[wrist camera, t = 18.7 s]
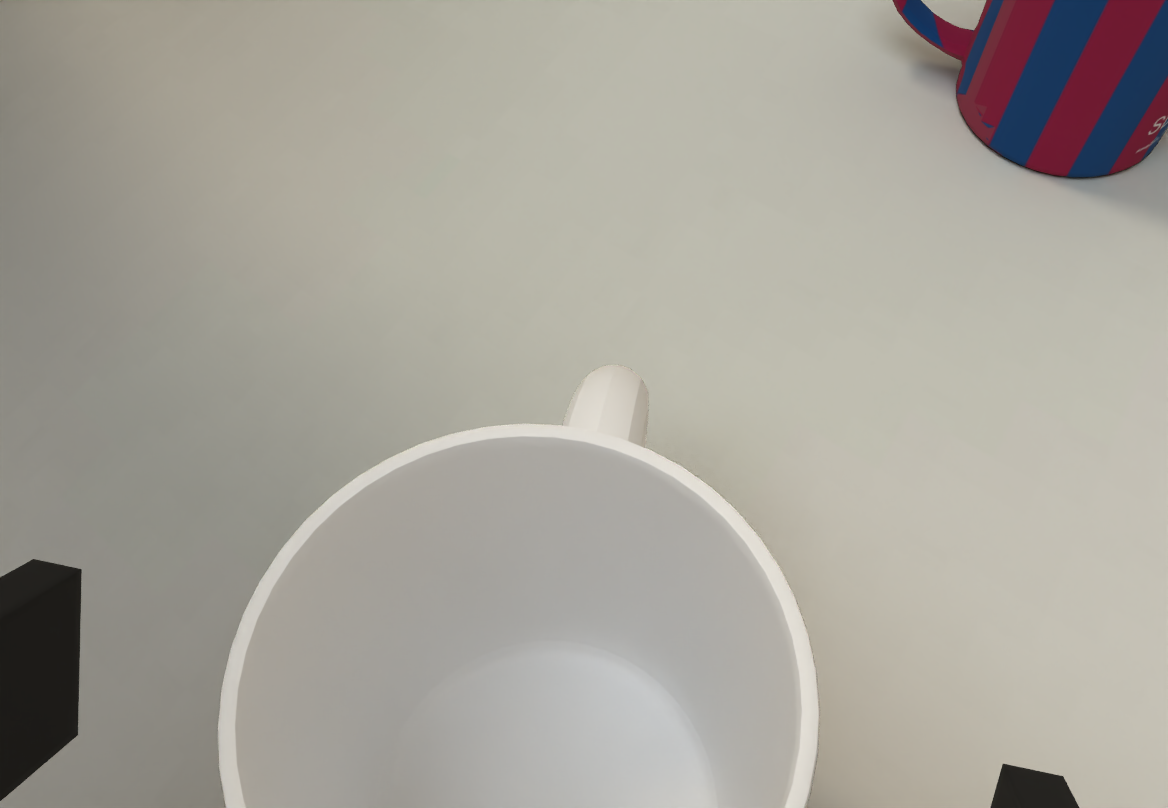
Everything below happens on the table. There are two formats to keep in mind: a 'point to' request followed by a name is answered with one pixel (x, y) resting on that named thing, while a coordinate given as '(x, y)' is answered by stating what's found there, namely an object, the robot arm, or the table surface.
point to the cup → (1060, 79)
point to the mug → (523, 635)
